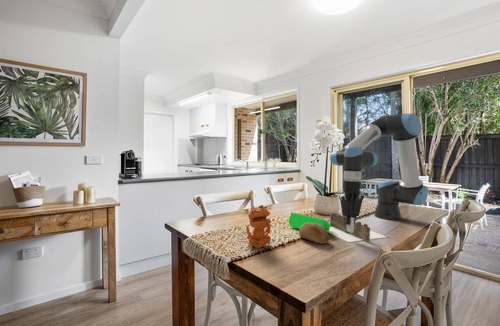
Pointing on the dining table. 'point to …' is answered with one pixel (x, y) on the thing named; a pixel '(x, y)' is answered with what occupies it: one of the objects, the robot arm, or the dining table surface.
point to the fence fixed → (338, 221)
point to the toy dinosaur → (259, 227)
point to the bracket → (306, 221)
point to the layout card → (350, 237)
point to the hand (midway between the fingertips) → (350, 231)
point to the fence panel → (361, 231)
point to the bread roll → (314, 233)
